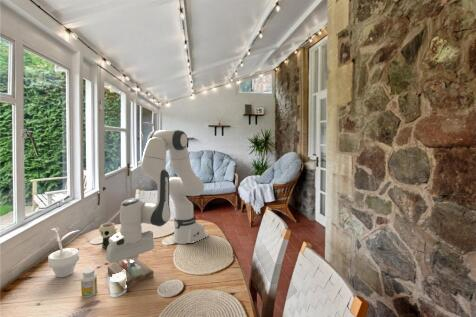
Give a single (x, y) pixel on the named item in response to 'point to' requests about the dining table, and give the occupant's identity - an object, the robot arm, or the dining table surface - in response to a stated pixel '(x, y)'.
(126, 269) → the key brick
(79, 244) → the dining table surface
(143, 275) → the key panel
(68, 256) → the potted plant
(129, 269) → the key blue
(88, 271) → the supplement bottle
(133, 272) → the key sage
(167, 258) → the dining table surface
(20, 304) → the dining table surface
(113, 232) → the character mug
